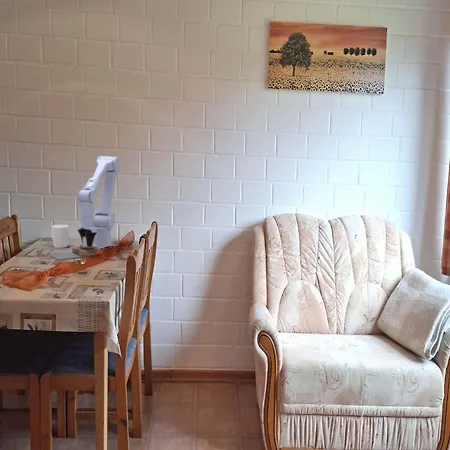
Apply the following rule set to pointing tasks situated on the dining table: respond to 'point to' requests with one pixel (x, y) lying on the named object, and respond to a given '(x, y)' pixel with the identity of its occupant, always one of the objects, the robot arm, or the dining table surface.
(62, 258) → the slate mat
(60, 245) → the white cup
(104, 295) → the dining table surface
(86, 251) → the socket block
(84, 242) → the steel peg
